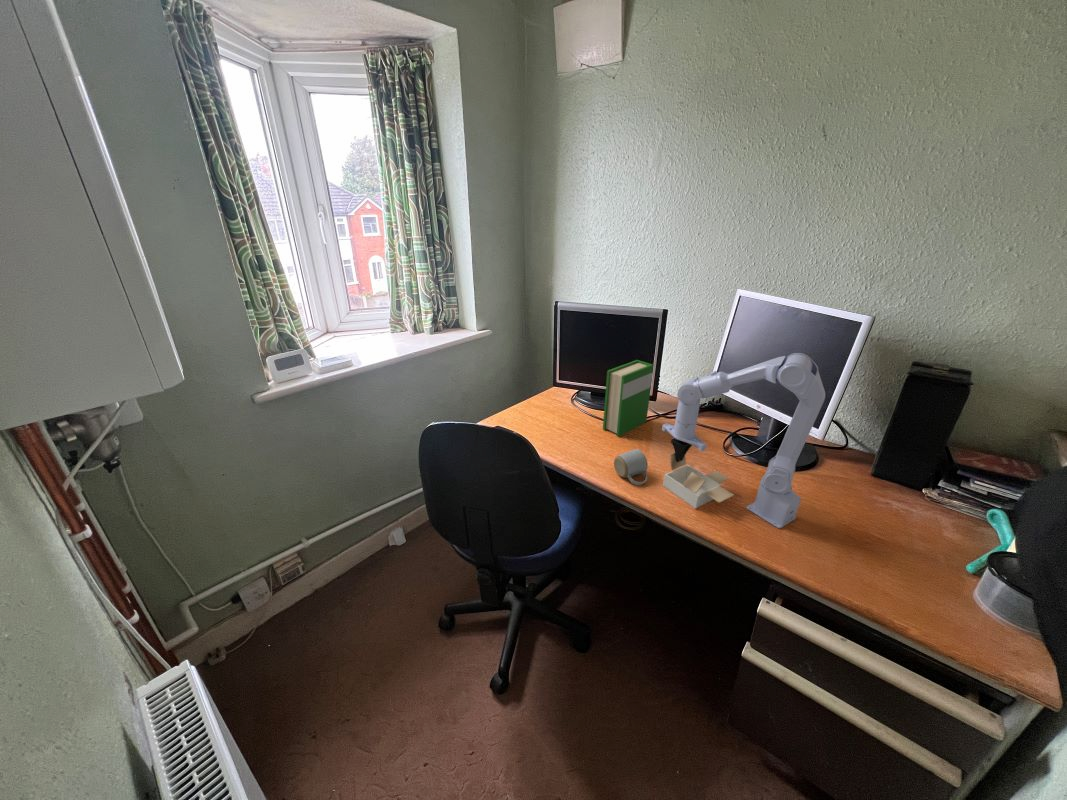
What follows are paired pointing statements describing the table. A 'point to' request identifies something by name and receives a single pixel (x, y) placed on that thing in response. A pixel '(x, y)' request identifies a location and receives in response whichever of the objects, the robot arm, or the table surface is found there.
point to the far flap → (676, 464)
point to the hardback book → (627, 396)
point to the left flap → (693, 482)
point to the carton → (707, 490)
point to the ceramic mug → (631, 465)
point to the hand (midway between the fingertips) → (679, 460)
